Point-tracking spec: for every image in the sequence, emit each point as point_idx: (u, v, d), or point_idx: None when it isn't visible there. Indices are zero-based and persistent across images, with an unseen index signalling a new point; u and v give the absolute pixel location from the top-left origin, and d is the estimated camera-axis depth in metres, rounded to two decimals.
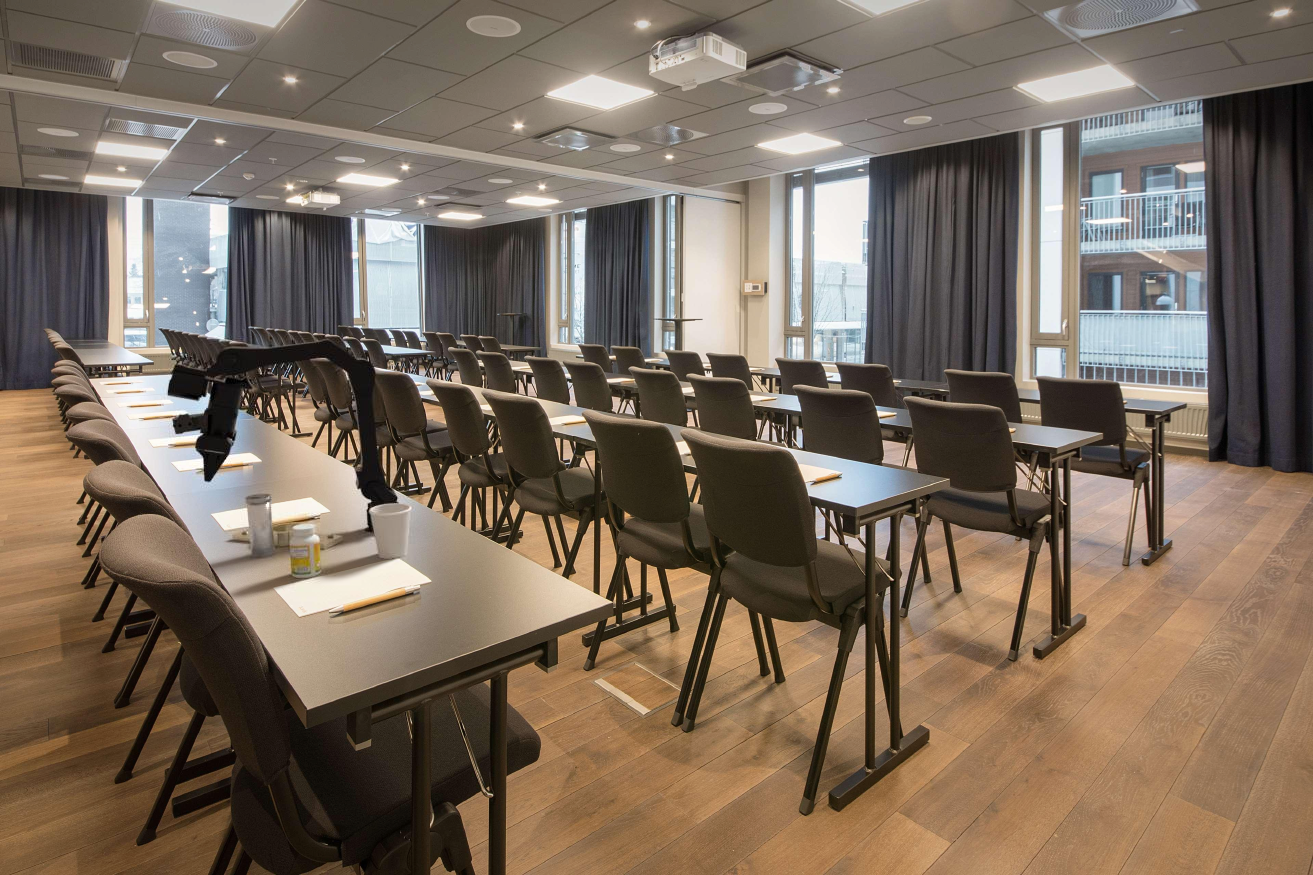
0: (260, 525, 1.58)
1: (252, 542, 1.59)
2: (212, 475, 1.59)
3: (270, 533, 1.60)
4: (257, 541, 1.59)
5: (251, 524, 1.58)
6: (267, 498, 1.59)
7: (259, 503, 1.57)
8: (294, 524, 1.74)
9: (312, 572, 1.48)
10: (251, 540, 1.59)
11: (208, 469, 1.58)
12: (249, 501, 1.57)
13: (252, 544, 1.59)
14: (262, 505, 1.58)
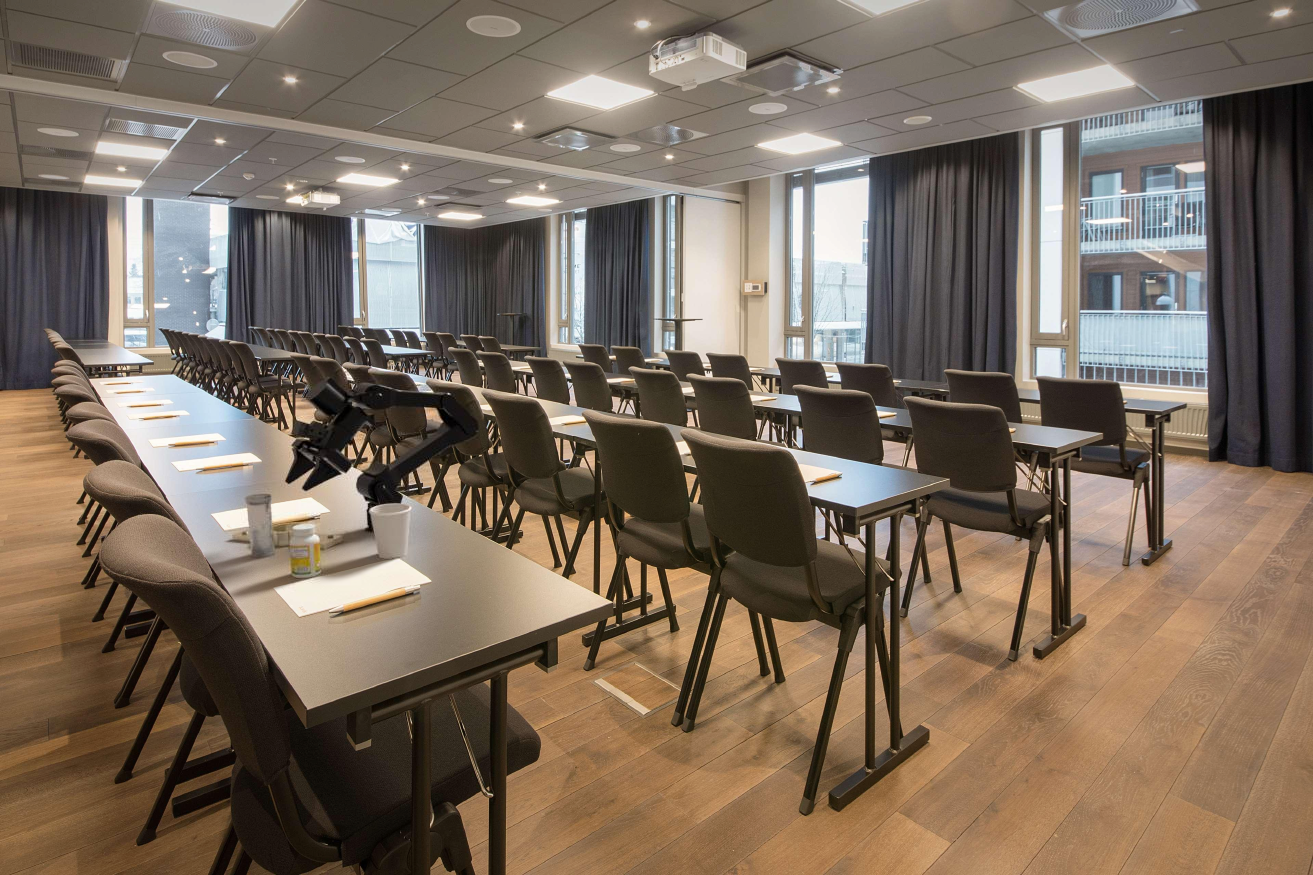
0: (260, 525, 1.58)
1: (252, 542, 1.59)
2: (312, 486, 1.62)
3: (270, 533, 1.60)
4: (257, 541, 1.59)
5: (251, 524, 1.58)
6: (267, 498, 1.59)
7: (259, 503, 1.57)
8: (294, 524, 1.74)
9: (312, 572, 1.48)
10: (251, 540, 1.59)
11: (313, 479, 1.61)
12: (249, 501, 1.57)
13: (252, 544, 1.59)
14: (262, 505, 1.58)
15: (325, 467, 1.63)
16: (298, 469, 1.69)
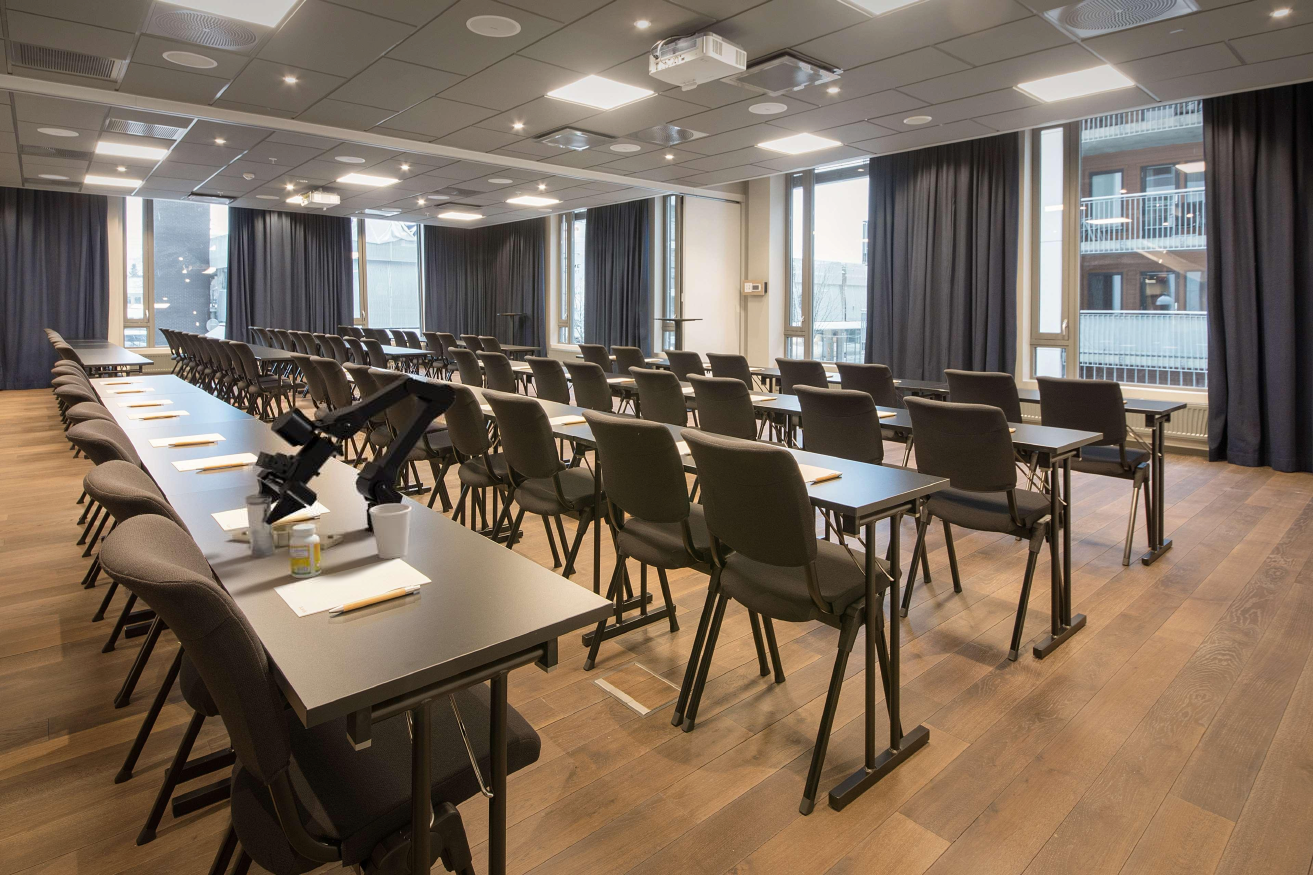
0: (260, 525, 1.58)
1: (252, 542, 1.59)
2: (276, 519, 1.57)
3: (270, 533, 1.60)
4: (257, 541, 1.59)
5: (251, 523, 1.58)
6: (267, 498, 1.59)
7: (259, 503, 1.57)
8: (294, 524, 1.74)
9: (312, 572, 1.48)
10: (251, 540, 1.59)
11: (277, 513, 1.57)
12: (249, 501, 1.57)
13: (252, 544, 1.59)
14: (262, 505, 1.58)
15: (289, 500, 1.58)
16: None
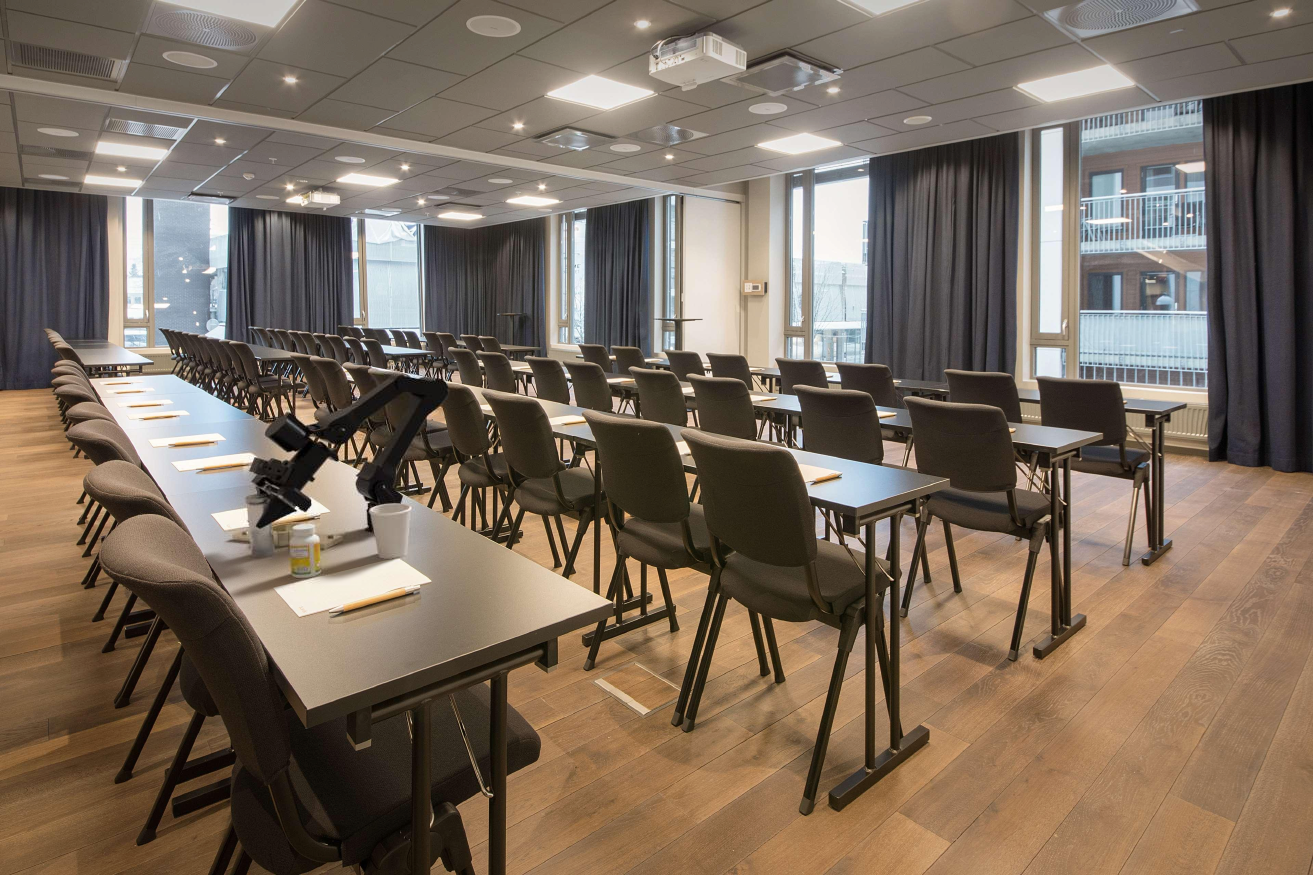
0: None
1: (252, 542, 1.59)
2: (266, 523, 1.58)
3: (270, 533, 1.60)
4: (257, 541, 1.59)
5: (251, 524, 1.58)
6: (267, 498, 1.59)
7: (259, 503, 1.57)
8: (294, 524, 1.74)
9: (312, 572, 1.48)
10: (251, 540, 1.59)
11: (267, 517, 1.58)
12: (249, 501, 1.57)
13: (252, 544, 1.59)
14: (262, 505, 1.58)
15: (280, 504, 1.59)
16: None
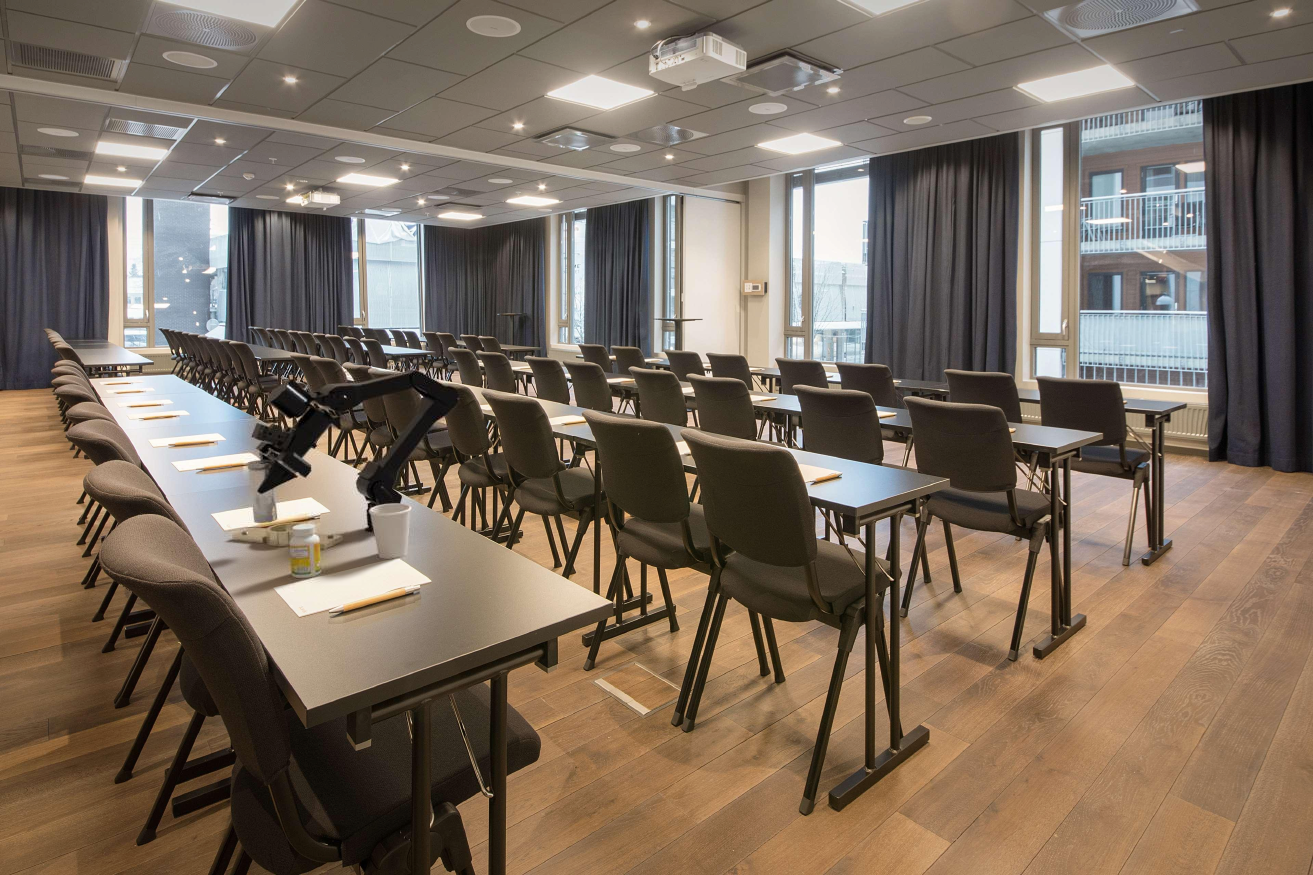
0: None
1: (254, 508, 1.60)
2: (268, 489, 1.59)
3: (272, 499, 1.61)
4: (259, 507, 1.60)
5: (253, 489, 1.59)
6: (268, 464, 1.59)
7: (260, 468, 1.58)
8: (294, 524, 1.74)
9: (312, 572, 1.48)
10: (253, 505, 1.60)
11: (269, 482, 1.59)
12: (250, 467, 1.58)
13: (254, 509, 1.60)
14: (263, 470, 1.59)
15: (281, 470, 1.60)
16: None
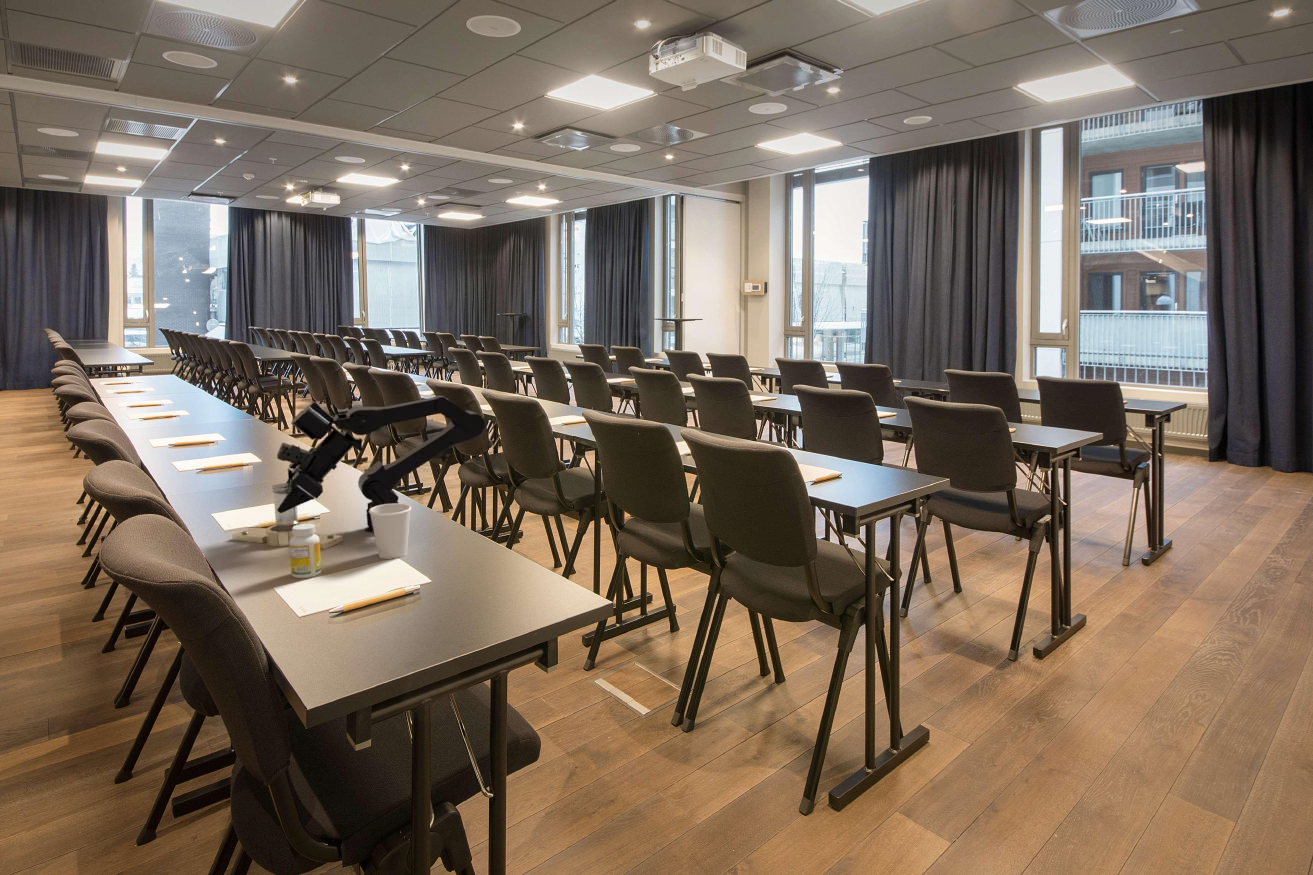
0: (282, 513, 1.68)
1: (277, 528, 1.69)
2: (287, 508, 1.65)
3: (293, 521, 1.69)
4: (280, 528, 1.68)
5: (276, 511, 1.68)
6: (290, 488, 1.68)
7: (282, 492, 1.67)
8: None
9: (312, 572, 1.48)
10: (276, 526, 1.69)
11: (287, 502, 1.65)
12: (273, 490, 1.67)
13: (277, 530, 1.69)
14: (284, 494, 1.67)
15: (300, 491, 1.65)
16: None
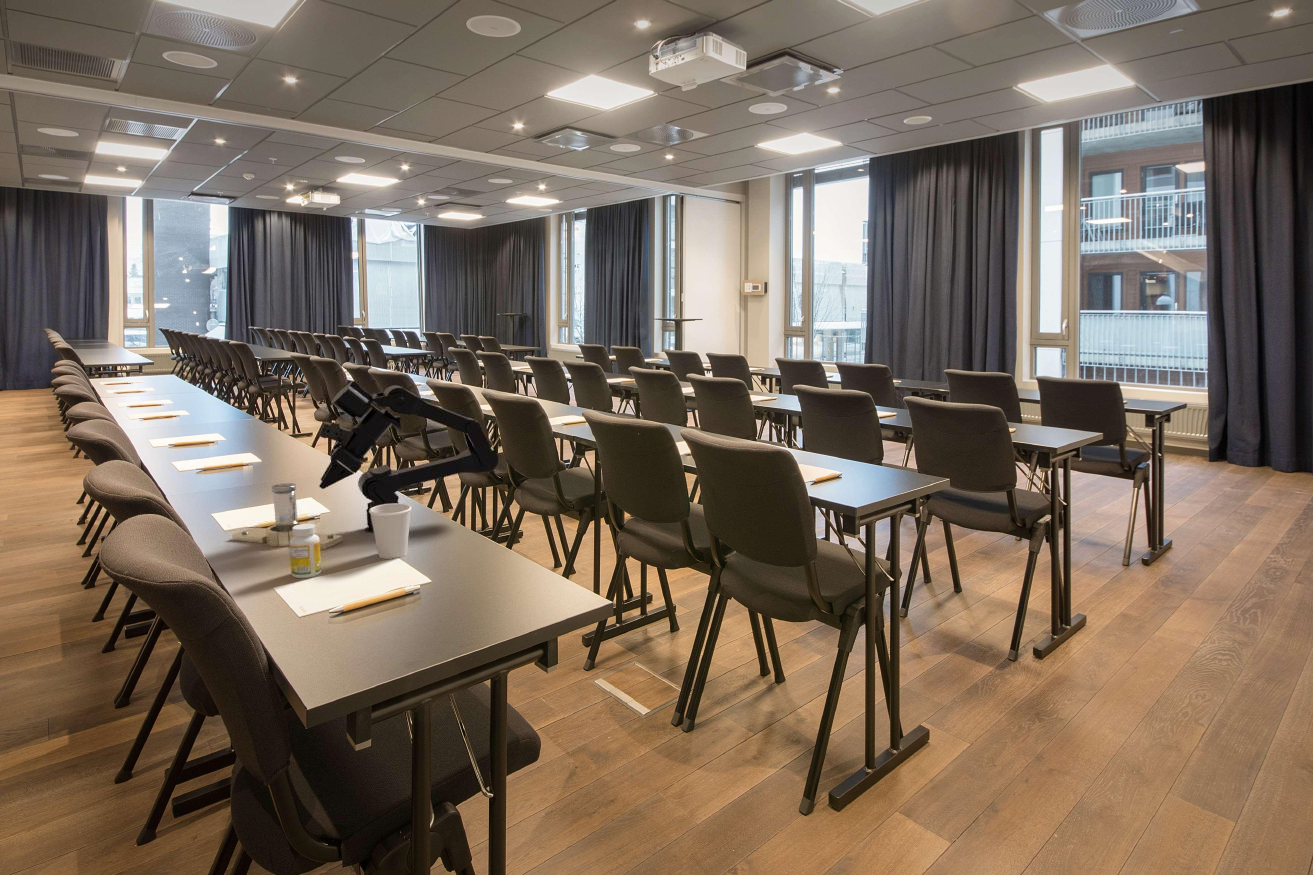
0: (282, 513, 1.68)
1: (276, 528, 1.69)
2: (328, 484, 1.69)
3: (293, 521, 1.69)
4: (280, 528, 1.68)
5: (275, 511, 1.68)
6: (289, 488, 1.68)
7: (281, 492, 1.67)
8: None
9: (312, 572, 1.48)
10: (276, 526, 1.69)
11: (328, 478, 1.68)
12: (273, 490, 1.67)
13: (276, 530, 1.69)
14: (284, 494, 1.67)
15: (340, 466, 1.69)
16: None
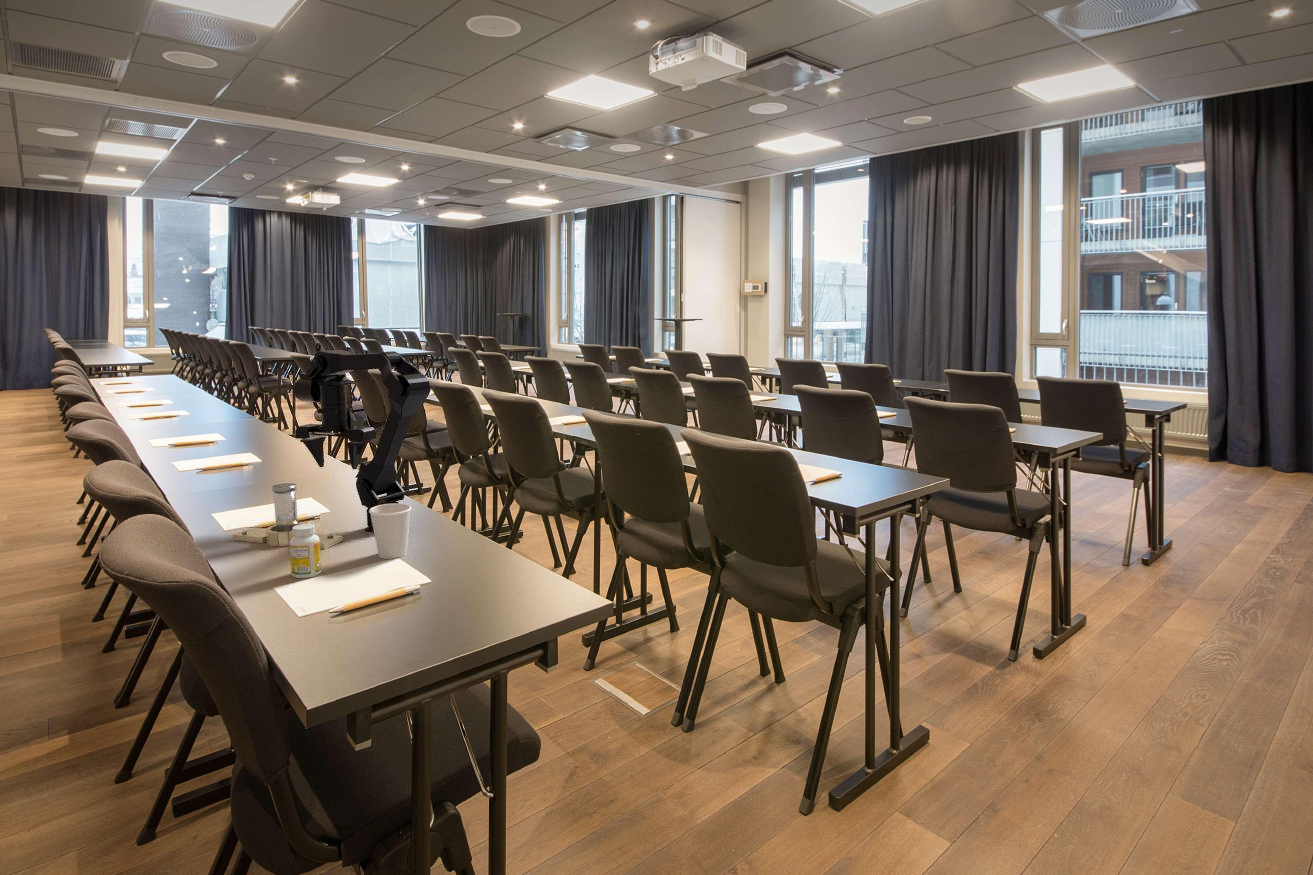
0: (282, 513, 1.68)
1: (276, 528, 1.69)
2: None
3: (293, 521, 1.69)
4: (280, 528, 1.68)
5: (275, 511, 1.68)
6: (289, 488, 1.68)
7: (281, 491, 1.67)
8: None
9: (312, 572, 1.48)
10: (276, 526, 1.69)
11: None
12: (273, 490, 1.67)
13: (276, 530, 1.69)
14: (284, 494, 1.67)
15: None
16: None
